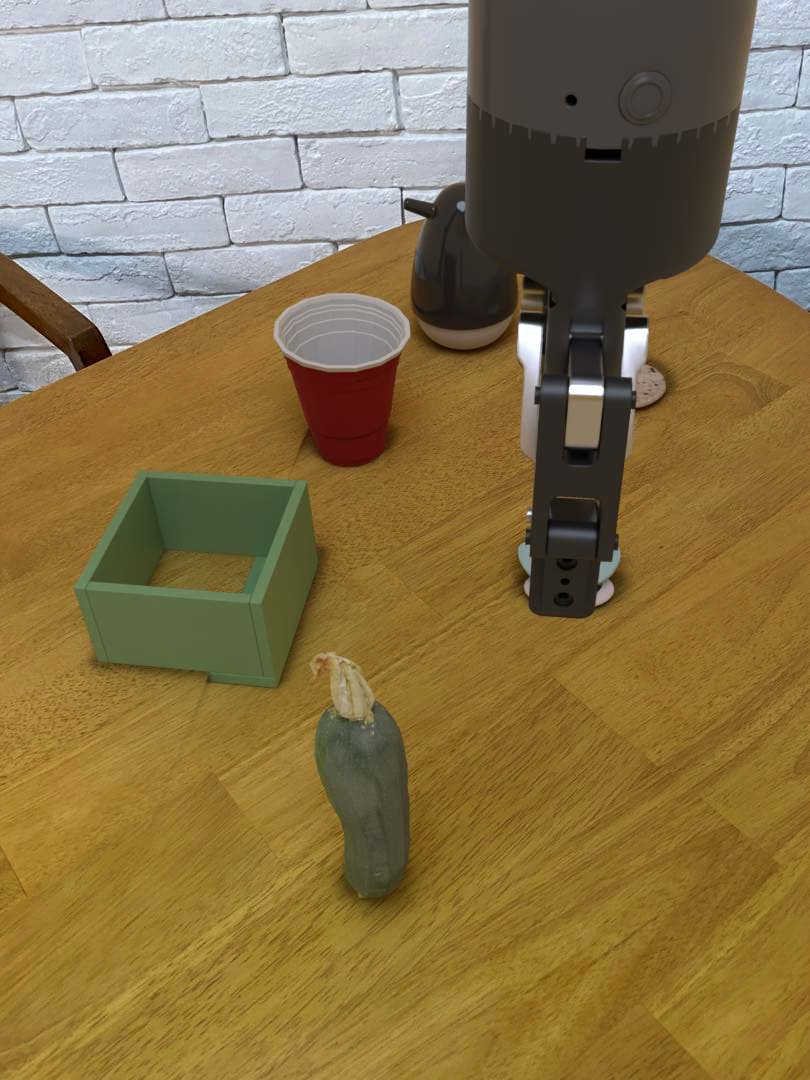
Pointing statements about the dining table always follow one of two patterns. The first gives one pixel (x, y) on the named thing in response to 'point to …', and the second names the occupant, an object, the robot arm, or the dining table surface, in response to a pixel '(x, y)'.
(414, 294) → the pump dispenser
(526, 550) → the pacifier
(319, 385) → the plastic cup
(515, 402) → the dining table surface
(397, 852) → the vegetable
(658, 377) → the flatbread
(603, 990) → the dining table surface
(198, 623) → the green bin
